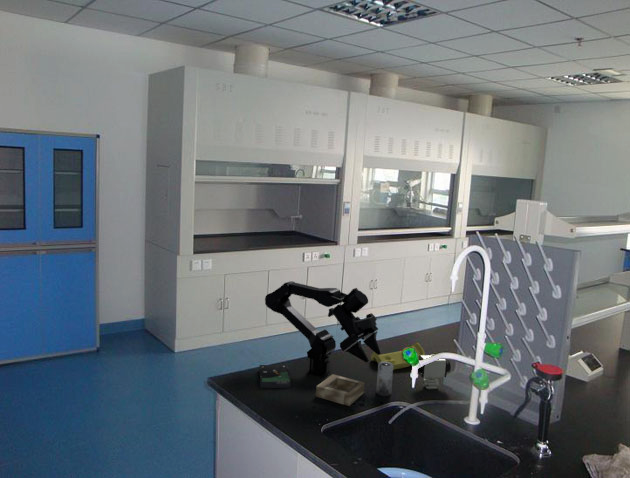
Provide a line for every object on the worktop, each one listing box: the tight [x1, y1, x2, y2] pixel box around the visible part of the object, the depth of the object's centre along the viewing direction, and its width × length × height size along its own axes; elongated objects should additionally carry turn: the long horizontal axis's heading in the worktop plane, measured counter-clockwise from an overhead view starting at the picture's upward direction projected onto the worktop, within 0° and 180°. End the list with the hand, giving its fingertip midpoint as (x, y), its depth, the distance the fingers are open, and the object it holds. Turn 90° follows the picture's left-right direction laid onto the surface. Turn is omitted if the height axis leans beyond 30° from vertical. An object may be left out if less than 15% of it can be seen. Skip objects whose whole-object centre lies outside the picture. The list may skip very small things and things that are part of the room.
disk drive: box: [258, 364, 292, 389], centre depth 179 cm, size 10×3×15 cm
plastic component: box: [370, 342, 426, 371], centre depth 200 cm, size 20×7×10 cm
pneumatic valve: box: [417, 353, 452, 390], centre depth 179 cm, size 6×12×12 cm, turn 99°
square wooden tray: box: [315, 373, 366, 407], centre depth 169 cm, size 12×12×4 cm
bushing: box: [375, 362, 394, 397], centre depth 172 cm, size 5×5×10 cm
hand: (373, 357), depth 174 cm, fingers open, 9 cm apart
